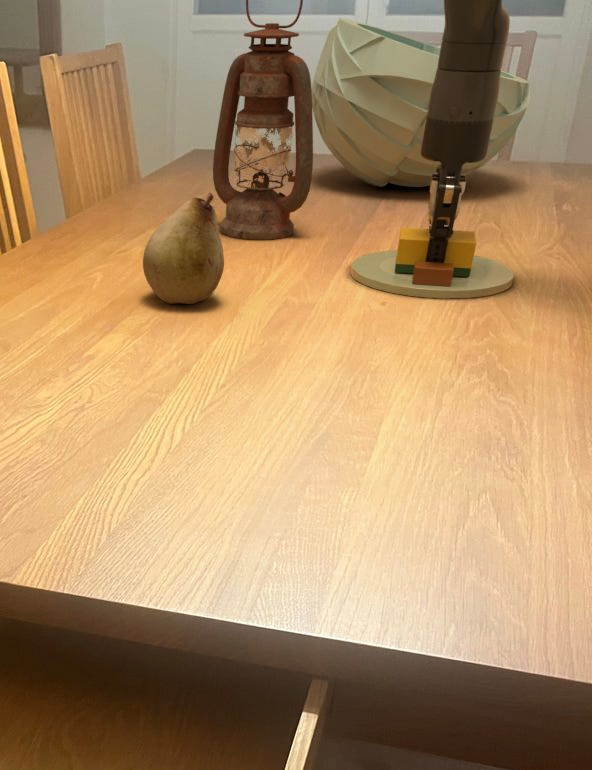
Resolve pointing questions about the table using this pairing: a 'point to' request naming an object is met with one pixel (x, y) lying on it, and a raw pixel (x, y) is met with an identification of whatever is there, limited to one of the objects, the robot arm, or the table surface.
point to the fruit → (185, 254)
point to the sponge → (416, 246)
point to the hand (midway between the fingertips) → (433, 263)
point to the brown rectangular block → (432, 273)
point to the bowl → (391, 104)
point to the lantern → (265, 110)
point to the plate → (382, 276)
